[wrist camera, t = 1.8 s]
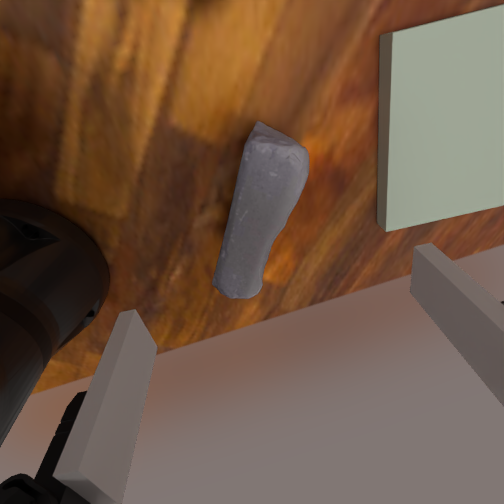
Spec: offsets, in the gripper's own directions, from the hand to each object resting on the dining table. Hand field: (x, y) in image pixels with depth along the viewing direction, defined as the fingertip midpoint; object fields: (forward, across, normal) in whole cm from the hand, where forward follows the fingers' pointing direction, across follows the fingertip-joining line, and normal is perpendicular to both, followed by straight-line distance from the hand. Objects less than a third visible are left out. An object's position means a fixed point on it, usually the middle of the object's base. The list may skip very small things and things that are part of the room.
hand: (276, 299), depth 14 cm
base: (+16, +19, +1) cm, 25 cm away
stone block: (+16, 0, 0) cm, 16 cm away
